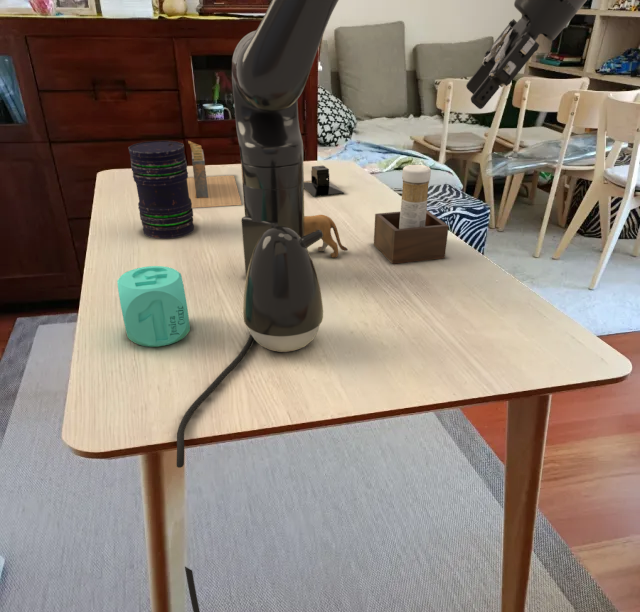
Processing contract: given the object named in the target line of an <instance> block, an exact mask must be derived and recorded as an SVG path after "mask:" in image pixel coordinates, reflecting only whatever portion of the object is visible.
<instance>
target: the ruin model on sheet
mask: <svg viewBox="0 0 640 612" xmlns="http://www.w3.org/2000/svg"><path fill="white" fill-rule="evenodd" d="M187 143H188V145H189V146H190V150H191V151H190V152H191V165H192V171H193V172H192V173H193V177H188V178H187V184H188V192H189V198H190V199H191V203H192V209H195V208H212V207H213V208H214V207H228V206H242V205H243V204H242V200H241V197H240V192H239V189H238V186H237V181H236V178H235V175H216V176H207V171H206V161H205V154H204V149H202V145H200V144H197V143H196V142H192V141H191V140H188V141H187Z"/></svg>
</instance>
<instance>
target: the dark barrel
mask: <svg viewBox="0 0 640 612" xmlns="http://www.w3.org/2000/svg"><path fill="white" fill-rule="evenodd" d="M128 153H129V155H130V156H129V159H130V166H131V167H130V168H131V172H132V178H133V181H134V183H135V185H136V191H137V198H138V203H137V205H138V211H139V213H138V214H139V219H140V221H141V225H142V232H143V235H144V236H145V237H148V238H150V239H157V240H171V239H177V238H182V237H185V236H188V235H191V234H192V233H193V232H194V231H195V225H194V210H193V209H194V208H192V203H191V199H190V198H189V192H188V184H187V178H189V175H188V174H189V172H188V163H187V159H186V153H185V145H184V143H182V142H179V141H175V140H174V141H173V140H150V141H142V142H138V143H134V144H131V145H130V146H128Z"/></svg>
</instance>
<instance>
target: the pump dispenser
mask: <svg viewBox="0 0 640 612" xmlns="http://www.w3.org/2000/svg"><path fill="white" fill-rule="evenodd" d="M321 238H323V233H322V231H321V230H317V231H314V232H312V233H310V234H308V235H305V236H303V237H300V236H299V235H298V234H297V233H296V232H295V231H293V230H292V229H290V228H288V227H284V226H276V227H273V228H270V229H268V230H267V231H265V232H264V233H263V234H262V236H261V237H260V239H259V240H258V242H257V244H256V247H255V249H254V251H253V254H252V257H251V260H250V264H249V267H248V271H247V276H246V275H245V282H244V289H243V302H242V303H243V305H242V309H243V310H242V314H243V322H244V324H245V326H246V327H247V329H248V331H249V333H250V334H251V335H252V337H253V338H254V341H255V342H256V343H257V344H259V345H260V346H261V347H262V348H265V349H267V350H270V351H273V352H279V353H288V352H294V351H297V350H300V349H303V348H305V347H306V346H308V345H309V344H310V343H311V342H312V341H313V340H314V339H315V337H316V335H317V333H318V332H319V328H320V325H321V323H322V322H323V319H324V305H323V298H322V297H323V296H322V292H321V286H320V282H319V276H318V273H317V270H316V267H315V264H314V262H313V259H312V257H311V254H310V253H309V250H308V248H309V247H311V246H312V245H314V244H315V243H317V242H318V241H320V240H322V239H321Z"/></svg>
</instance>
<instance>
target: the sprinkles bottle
mask: <svg viewBox="0 0 640 612" xmlns="http://www.w3.org/2000/svg"><path fill="white" fill-rule="evenodd" d="M431 173H432V170H431V167H430V166H428V165H423V164H409V165H405V166H404V167H402V175H401V179H402V188H401V203H400V210H399V212H400V223H399V229H404V228H414V227H424V226H425V222H426V211H428V200H429V199H428V195H429V184H430V181H431Z"/></svg>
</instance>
